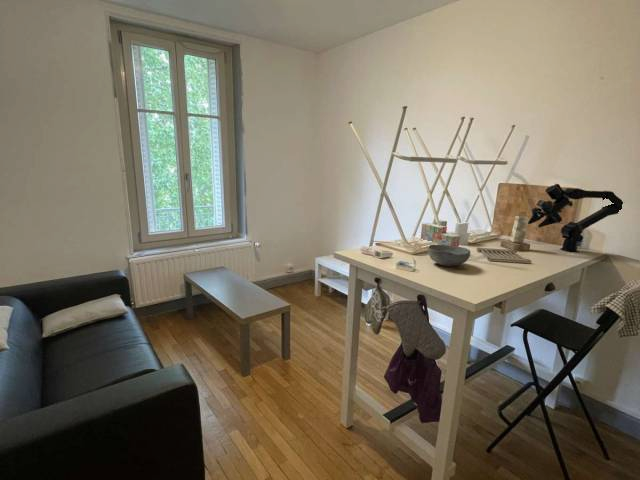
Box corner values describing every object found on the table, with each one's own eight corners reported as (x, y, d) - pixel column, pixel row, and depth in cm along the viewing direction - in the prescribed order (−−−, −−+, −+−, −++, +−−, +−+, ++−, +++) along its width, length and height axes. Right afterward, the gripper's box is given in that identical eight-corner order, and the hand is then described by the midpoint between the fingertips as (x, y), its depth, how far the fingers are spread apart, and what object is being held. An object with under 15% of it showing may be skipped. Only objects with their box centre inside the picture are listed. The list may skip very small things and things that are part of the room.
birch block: (519, 241, 189) (525, 217, 186) (522, 243, 184) (529, 218, 181) (509, 240, 190) (515, 215, 187) (513, 242, 185) (519, 216, 182)
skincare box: (445, 241, 198) (447, 221, 196) (439, 242, 197) (441, 221, 194) (437, 239, 204) (440, 219, 201) (432, 239, 203) (434, 219, 200)
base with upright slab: (463, 245, 191) (465, 224, 188) (448, 242, 197) (450, 222, 195) (470, 243, 196) (473, 223, 193) (456, 240, 203) (458, 220, 200)
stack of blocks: (458, 253, 174) (461, 230, 171) (449, 254, 171) (452, 230, 168) (427, 243, 192) (430, 222, 189) (419, 244, 189) (421, 223, 186)
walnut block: (515, 246, 194) (516, 240, 193) (529, 251, 184) (530, 244, 183) (500, 247, 192) (501, 240, 191) (513, 251, 182) (514, 244, 182)
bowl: (465, 261, 158) (467, 245, 157) (471, 273, 142) (474, 254, 140) (425, 257, 163) (427, 241, 161) (426, 268, 146) (428, 250, 145)
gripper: (537, 193, 190) (515, 212, 193) (560, 196, 172) (535, 217, 174) (549, 207, 192) (526, 226, 194) (572, 212, 174) (547, 232, 176)
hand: (533, 225), depth 185 cm, fingers open, 9 cm apart
